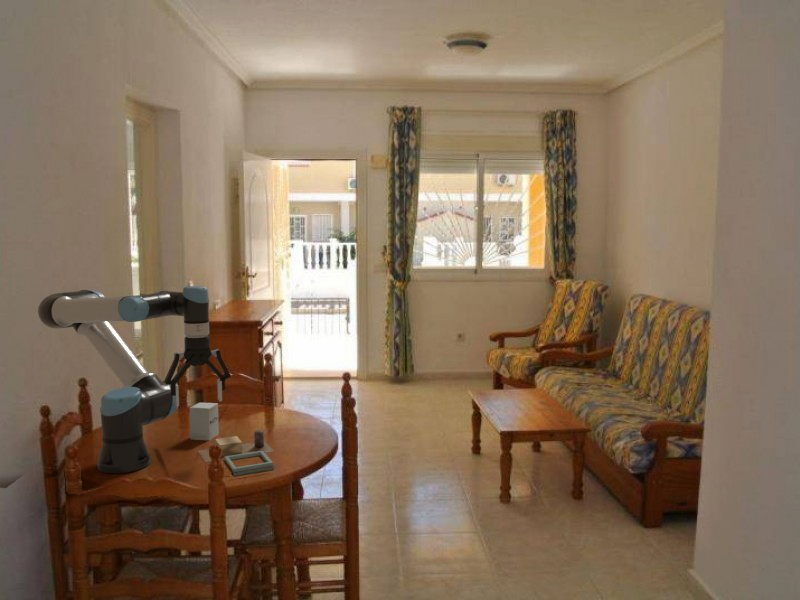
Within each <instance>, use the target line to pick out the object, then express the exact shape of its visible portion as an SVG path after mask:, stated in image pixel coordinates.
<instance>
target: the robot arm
mask: <svg viewBox="0 0 800 600" xmlns="http://www.w3.org/2000/svg"><path fill="white" fill-rule="evenodd" d="M209 302H210V297H209V290H208V288H207V287H206V286H203V285H190V286H184V287H183V289H182V291H169V290H158V291H155V292H154V293H150V294H149V293H148V294H140V295H123V296H107V297H106V296H105V295H104V294H103V293H102V292H100V291H98V290H93V289H80V290H77V291H69V292H58V293H52V294H49V295H48V296H46V297H44V298H43V299H42V300H41V302H40V303H39V305H38V309H37V315H38V317H39V320H40V322H42V324H44V325H45V326H47V327H48V328H52V329H66V328H67V329H68V328H73V329H74V330H75V332H76V333H77V334H78V336H80V337H86V338H87V339H88V341H89V342H90V343H91V345H92V346H93V347H94V349H95V350H96V351H97V354H99V355H100V357H101V358H102V359H103V361H104V363H106V364H107V366H108V367H109V368H110V370H111V371H112V373H113V374H114V375H115V376H116V378H117V380H119V382H120V383H121V384H122V385H123V387H121V388H115V389H112V390H110V391H108V392H106V393H105V394H103V395H102V397H101V400H100V407H99V408H100V410H99V411H100V420H101V421H100V423H101V435H102V436H101V437H102V443H101V447H100V450H99V455H98V458H97V471H99V472H101V473H104V474H123V473H130V472H131V473H132V472H136V471H138V470H141V469H144V468H146V467H147V466H149V465H150V463H151V454H150V452H149V449H148V447H147V444H146V442H145V440H144V426H146V425H149V424H150V425H151V424H152V423H155V422H157V421H160V420H165V419H166V418H168V417H169V416H171V415H173V414H175V412H176V411H177V409H178V407H179V406H180V396H179V395H180V393H179V392H180V391H179V389H180V388H179V385H178V383H179V381H180V380H181V379H182V377H183V376H184V374H185V373H186V372H187V371H188V369H189V368H190V367H191V366H193V367H196V366H204V365H206V366H208V368H210V369H211V371H213V373H214V374H215V375H216V376H217V377H218V379H216V380H217V381H216V382H217V400H218V401H219V402H223V391H225V389H226V379H230V378H231V374H230V372H229V369H228V368H227V366H226V364H225V362H224V361H223V359H222V355H221V350H219V349H218V348H216V349H214V350H211V343H210V342H211V341H210V340H211V339H210V336H209V335H210V319H209V314H210V313H209V310H210V309H209V306H210V305H209V304H210V303H209ZM170 316H176V317H177V316H178V317H183V327H184V328H183V334H184V341H183V342H184V351H183V353H182V352H177V351H176V352H174V353H173V360H172V362H171V365H170V367H169V369H168V371H167V374H166V376H165V378H164V380H163V381H162V380H161V379H160V377H159V376H158V375H157V373H153V372H149V371H148V370H147V368H146V367H145V366H144V365H143V363H142V362H141V361H140V359H139V358H138V356H136V354H135V353H134V352H133V351H132V349H131V348H130V346H129V345H128V344H127V343H126V342H125V340H124V338H123V337H122V336H121V335H120V334H119V332H118V331H117V330H116V328H115V327H114V326H113V325H112V323H111V322H127V323H135V322H141V321H145V320H146V321H147V320H150V319H157V318H163V317H170ZM211 356H213V357H214V358H216V361H217V362H218V365H219V367H220V368H221V370H222V372H223V374H222V373H221V372H220V371H219V369H217V367H216V366H215V365H214V364H213V363H212V362H211V361H210V360H209V359H210V357H211ZM182 358H184V359H185V361H184V363H183V364H182V366H181V367H180V369H179V370H178V371H177V372H176V369H177V367H178V365H179V362H180V361H181V360H182ZM175 372H176V373H175ZM174 374H175V375H174Z"/></svg>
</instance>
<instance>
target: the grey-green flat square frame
mask: <svg viewBox="0 0 800 600" xmlns="http://www.w3.org/2000/svg"><path fill="white" fill-rule="evenodd" d="M257 456H259V457H260V456H261V458H262V459H263V461H264V462H261V463H260V462H259V463H255V464H250V465H249V464H248V465H243V466H237V467H236V465H235V464H234V462H233V461H234V460H239V459H245V458H252V457H257ZM232 460H233V461H232ZM224 461H225V463H226V464H227V465H228V467H229V468H230V470H231V471H232V473H230V474H231V475H232V477H233V478H237V477H243V476H248V475H254V474H260V473H266V472H271V471H274V462H273V461H272V459H271V458H270V457H269V456H268V455H267V453H264V452H263V451H257V452H251V453H244V454H238V455H231V456H225V459H224Z"/></svg>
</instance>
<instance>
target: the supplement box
mask: <svg viewBox="0 0 800 600" xmlns="http://www.w3.org/2000/svg"><path fill="white" fill-rule="evenodd" d="M188 412H189V439H190V440H194V441H211V440H212V439H214V438H215V437H216V436H218V435H219V433H220V429H219V428H220V427H219V426H220V425H219V403H218V402H217V403H216V402H215V403H214V402H197V403H196V404H194V405H192V406H191V407H189V411H188Z"/></svg>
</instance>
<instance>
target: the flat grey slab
mask: <svg viewBox="0 0 800 600" xmlns="http://www.w3.org/2000/svg"><path fill="white" fill-rule="evenodd" d="M253 435H254V441H253V442H246V443H242V453H236V454H230V455H223V456H221V457H220V460H219V461H222V460H225V456H231V455H238V454H244V453H251V452H257V451H263V452H264V453H265V454H268V453H273V452H275V450H274V449H273V448H272V447H271V446H270V445H269V444H268V443H267V442H266V441H265V432H264V430H261V429H259V430H255V431H254V432H253ZM209 449H210V448H208V449H207V448H206V449H200V450H197V453H198V454H199V456H200V457H201V459H202V460H203V462H204V463H210V462H212V461H211V459H210V457H209Z"/></svg>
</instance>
